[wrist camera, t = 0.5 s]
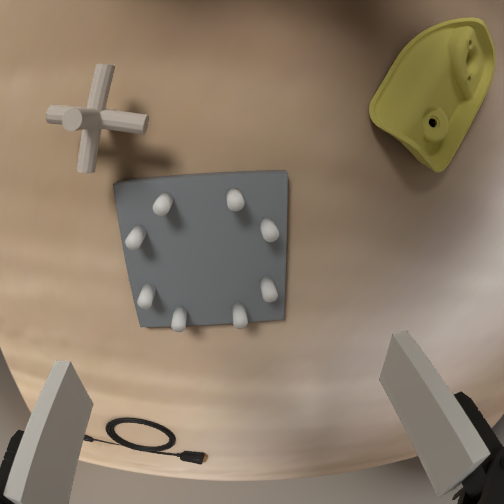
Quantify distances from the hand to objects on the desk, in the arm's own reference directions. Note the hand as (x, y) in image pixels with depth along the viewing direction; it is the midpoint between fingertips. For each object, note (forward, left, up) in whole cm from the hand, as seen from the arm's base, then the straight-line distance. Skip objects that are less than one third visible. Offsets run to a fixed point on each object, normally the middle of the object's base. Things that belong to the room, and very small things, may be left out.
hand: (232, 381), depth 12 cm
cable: (+42, -19, -25) cm, 53 cm away
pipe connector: (-11, -11, -25) cm, 29 cm away
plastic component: (-15, +26, -25) cm, 39 cm away
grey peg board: (+5, -2, -25) cm, 25 cm away
